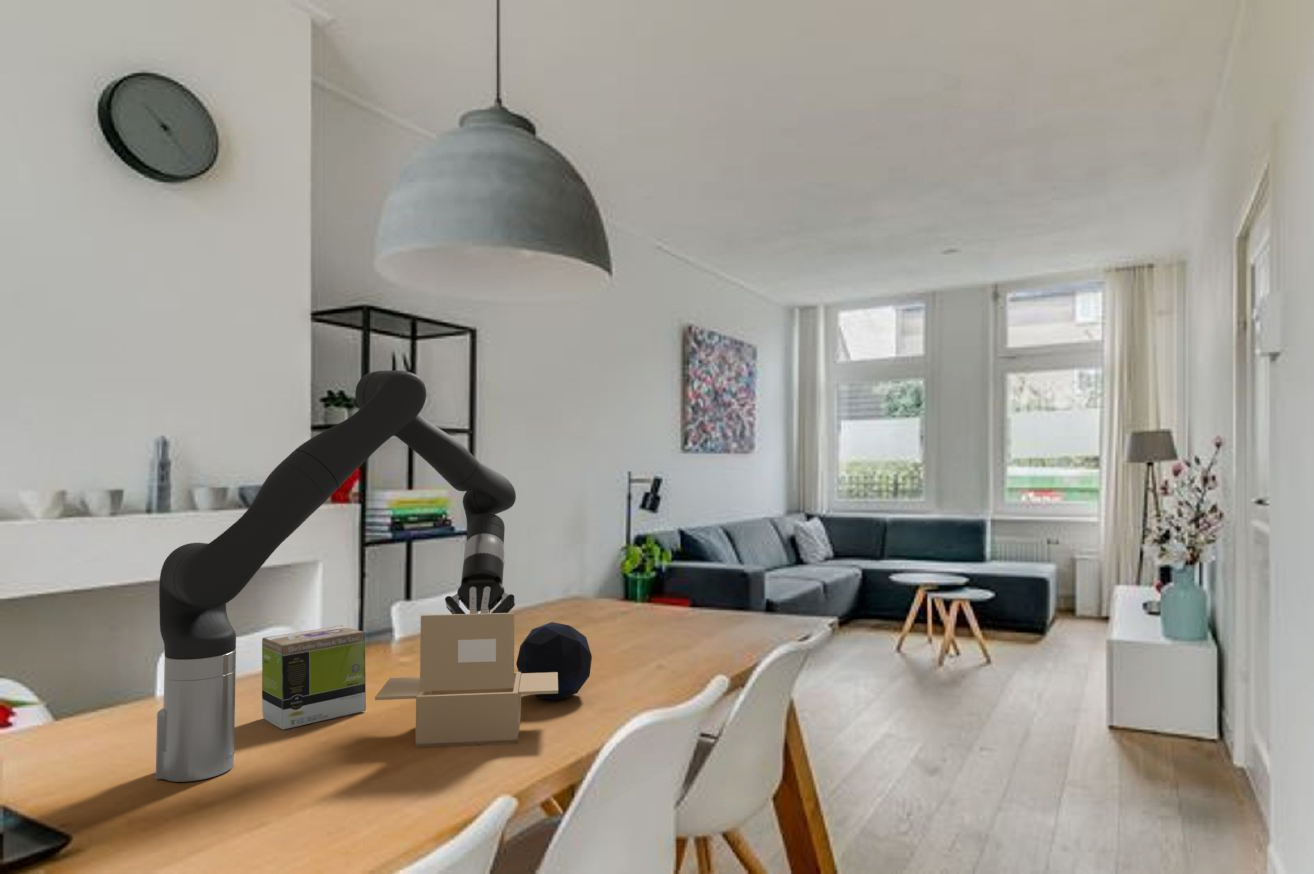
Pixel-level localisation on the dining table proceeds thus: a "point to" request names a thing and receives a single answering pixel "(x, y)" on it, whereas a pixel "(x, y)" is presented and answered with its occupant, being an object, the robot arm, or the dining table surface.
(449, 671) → the cardboard box flap
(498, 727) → the carton
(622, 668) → the dining table surface
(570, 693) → the decorative orb
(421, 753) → the dining table surface
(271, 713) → the tea box
